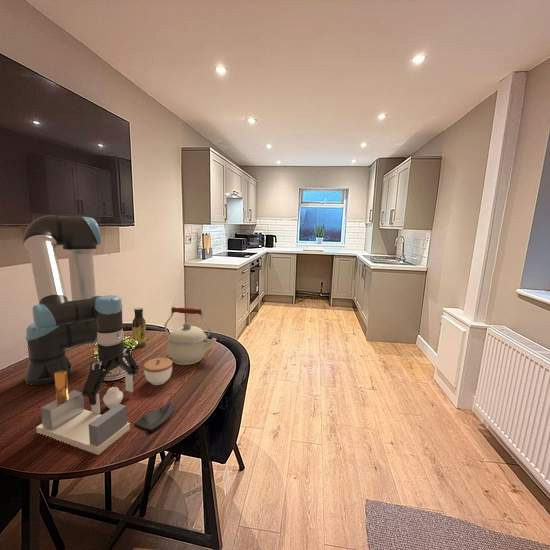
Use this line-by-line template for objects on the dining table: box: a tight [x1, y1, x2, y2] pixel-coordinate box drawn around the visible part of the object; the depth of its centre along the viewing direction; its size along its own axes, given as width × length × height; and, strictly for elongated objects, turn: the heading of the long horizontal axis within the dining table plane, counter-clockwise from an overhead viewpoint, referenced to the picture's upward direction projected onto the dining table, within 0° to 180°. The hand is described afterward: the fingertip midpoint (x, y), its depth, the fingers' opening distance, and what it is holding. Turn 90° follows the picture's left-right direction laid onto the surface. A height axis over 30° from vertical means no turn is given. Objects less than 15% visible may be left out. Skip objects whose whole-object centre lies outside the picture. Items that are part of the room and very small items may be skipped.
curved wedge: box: [134, 401, 175, 433], centre depth 95 cm, size 8×14×2 cm, turn 153°
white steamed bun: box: [102, 386, 124, 410], centre depth 99 cm, size 6×6×7 cm
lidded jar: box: [143, 357, 174, 386], centre depth 115 cm, size 11×11×9 cm
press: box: [35, 403, 131, 456], centre depth 86 cm, size 24×11×8 cm, turn 72°
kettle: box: [164, 306, 217, 366], centre depth 135 cm, size 25×18×25 cm
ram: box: [40, 370, 85, 430], centre depth 88 cm, size 4×10×15 cm, turn 162°
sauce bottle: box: [131, 307, 147, 348], centre depth 148 cm, size 6×6×20 cm
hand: (113, 401), depth 99 cm, fingers open, 13 cm apart
